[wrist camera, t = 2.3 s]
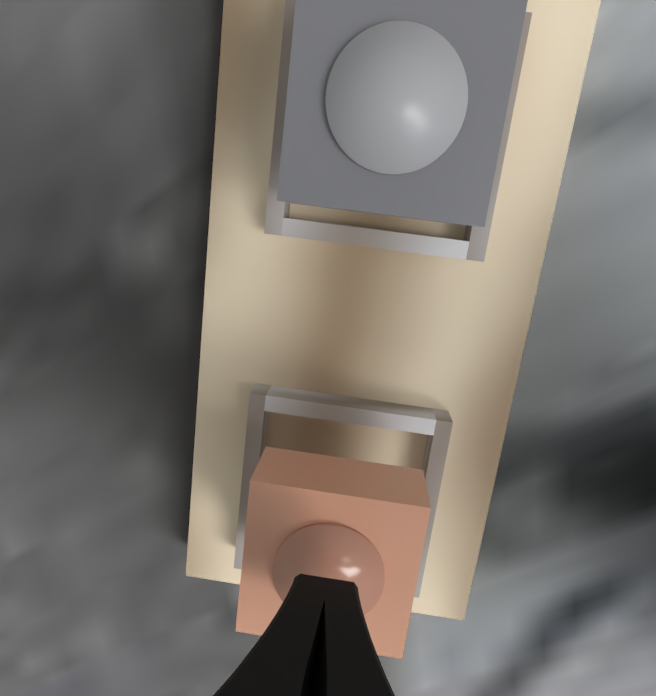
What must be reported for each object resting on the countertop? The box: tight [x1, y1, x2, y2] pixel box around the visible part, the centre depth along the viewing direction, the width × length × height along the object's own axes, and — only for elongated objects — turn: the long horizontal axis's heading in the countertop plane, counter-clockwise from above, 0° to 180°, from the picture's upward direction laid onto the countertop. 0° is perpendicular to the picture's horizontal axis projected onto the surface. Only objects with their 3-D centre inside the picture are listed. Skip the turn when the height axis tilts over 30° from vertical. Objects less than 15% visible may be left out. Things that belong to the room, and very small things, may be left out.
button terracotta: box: [236, 446, 431, 659], centre depth 14 cm, size 4×4×2 cm
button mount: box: [186, 0, 601, 620], centre depth 17 cm, size 10×20×2 cm, turn 173°
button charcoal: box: [277, 0, 528, 227], centre depth 12 cm, size 4×4×2 cm
